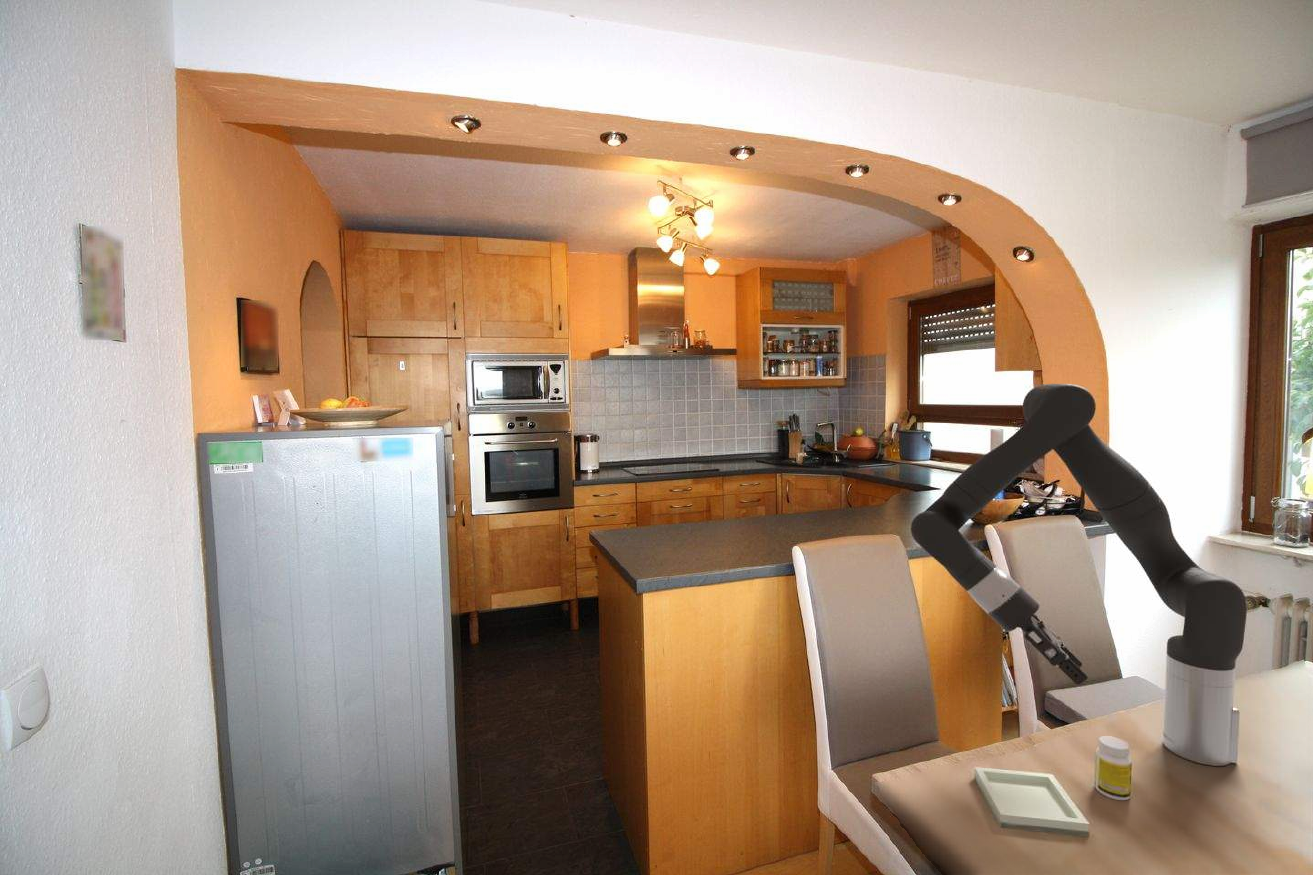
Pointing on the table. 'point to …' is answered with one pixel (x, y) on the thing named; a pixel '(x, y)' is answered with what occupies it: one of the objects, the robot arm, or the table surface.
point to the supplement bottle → (1113, 768)
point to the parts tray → (1030, 802)
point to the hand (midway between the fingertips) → (1080, 674)
